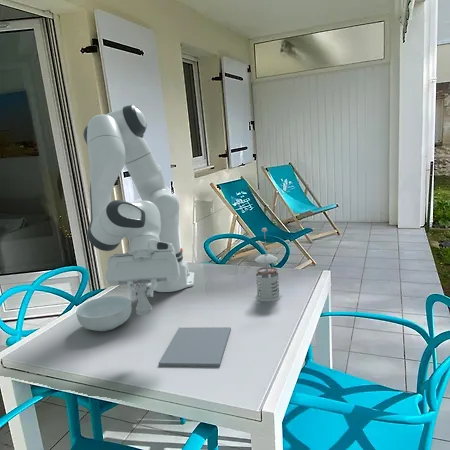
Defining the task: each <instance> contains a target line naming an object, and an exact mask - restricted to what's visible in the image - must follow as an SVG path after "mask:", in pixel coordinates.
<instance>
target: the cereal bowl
mask: <svg viewBox="0 0 450 450" xmlns="http://www.w3.org/2000/svg"><path fill="white" fill-rule="evenodd" d="M75 313H76V318H77V321H78V323H79V324H80V325H81V326H82V327H83V328H84V329H86V330H89V331H96V332H108V331H111V330H114V329H116V328H117V327H119V326H122V325H123V324H124V323H125V322H126V321H127V320H128V319H129V318H130V316H131V314H132V301H131V299H129V298H128V297H124V296H118V295H112V296H111V295H110V296H108V295H107V296H103V297H98V298H94V299H91V300H89V301H86V302H84V303H82V304H81V305H80V306H78V308H77V309H76V312H75Z"/></svg>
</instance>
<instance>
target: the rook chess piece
mask: <svg viewBox="0 0 450 450" xmlns="http://www.w3.org/2000/svg"><path fill="white" fill-rule="evenodd" d="M147 289H148V285H146V283H140V284H135V287H134V290H136V291H137V296H138V297H137V303H136V307H135V310H136V311H135V313H136V315H138V316H146V315H149V314H151V313H152V311H153V308H152V307H153V306H152V304H151V303H150V301H149V299H148V297H147V295H146V293H147Z"/></svg>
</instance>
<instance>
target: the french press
mask: <svg viewBox="0 0 450 450" xmlns="http://www.w3.org/2000/svg"><path fill="white" fill-rule="evenodd" d="M261 232H263V233H264V238H266V232H268V229H267V227H262V228H261ZM266 243H267V242H264V248H265V254H261V255H259V256H257V257H256V258H255V259H254V261H255V262H256V263H257V264H262V265H266V266H263V267H259V268H258V269H256V274H255V275H256V276H255V279H256V289H257V291H256V294H255V296H254V298H255V299H256V300H258V301H260V302H274V301H278V300H280V299H282V297H283V294H282V293H281V292H280V285H279V284H280V281H279V273H278V269H277V268H276V267H274V263H276V262H278V260H279V259H278V257H277V256H275V255H273V254H271V253H270V254H269V253H268V254H267V247H266ZM269 264H271V266H269ZM269 275H270V277H269ZM260 276H261V277H260Z"/></svg>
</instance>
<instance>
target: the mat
mask: <svg viewBox="0 0 450 450" xmlns="http://www.w3.org/2000/svg"><path fill="white" fill-rule="evenodd" d="M231 331H232V327H229V326H227V327H224V326H222V327H218V326H217V327H215V326H213V327H207V326H206V327H205V326H204V327H178V329H177V330H176V332H175V334H174V336H173V337H172V339H171V341H170V343H169V344H168V346H167V347H166V349H165V352H164V353H163V355H162V356H161V358H160V360H159V362H158V367H212V368H213V367H215V368H217V367H219V368H220V367H221V364H222V362H223V358H224V354H225V351H226V348H227V345H228V341H229V338H230V334H231Z"/></svg>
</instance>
